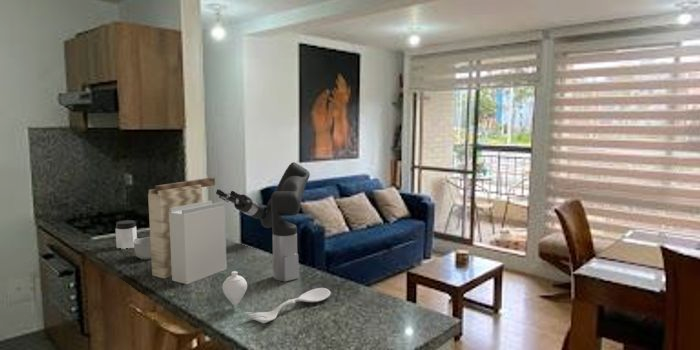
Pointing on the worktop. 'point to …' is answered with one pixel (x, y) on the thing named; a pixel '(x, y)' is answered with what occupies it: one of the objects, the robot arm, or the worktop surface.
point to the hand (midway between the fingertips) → (224, 192)
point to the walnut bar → (186, 184)
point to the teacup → (142, 248)
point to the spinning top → (234, 288)
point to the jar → (125, 234)
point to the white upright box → (197, 241)
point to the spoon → (308, 296)
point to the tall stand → (166, 223)
